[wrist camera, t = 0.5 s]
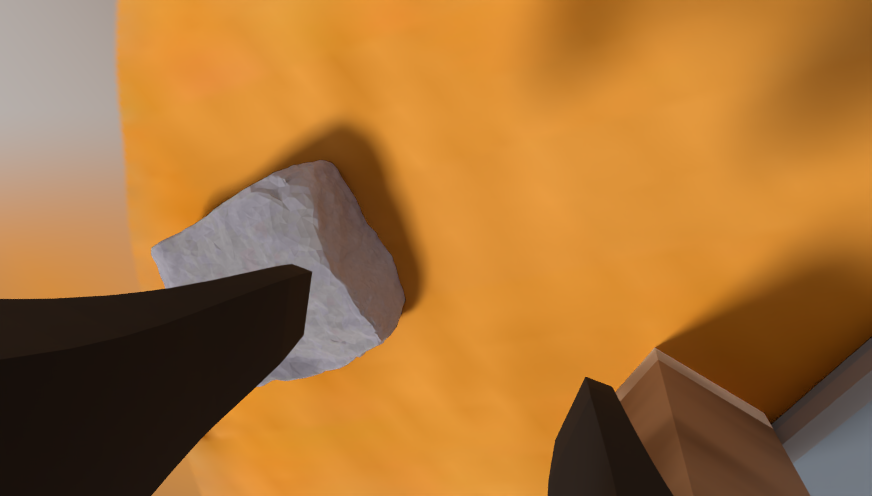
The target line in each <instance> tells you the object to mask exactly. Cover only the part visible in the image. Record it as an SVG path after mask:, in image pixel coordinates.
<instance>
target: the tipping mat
mask: <svg viewBox="0 0 872 496" xmlns="http://www.w3.org/2000/svg"><path fill="white" fill-rule="evenodd" d="M771 426H772V428H773V430H774V431H775V433H776V435H777V437H778V438H779V440H780V442H781V444H782V446H783V447H784V449H785V451H786V453H787V455H788V456H789V458H790V460H791V462H792V463H793V465H794V467H795V469H796V471H797V472H798V474H799V476H800V478H801V480H802V481H803V483H804V485H805V487H806V488H807V490H808V492H809V494H810V496H872V337H871V338H870V339H869V340H868V341H867V342H865V343H864V344H863V345H862V346H861V347H860V348H859V349H857V350H856V351H855V352H854V353H853V354H852V355H851V356H849V357H848V358H847V359H846V360H845V361H844V362H843V363H841V364H840V365H839V366H838V367H837V368H836V369H835V370H833V371H832V372H831V373H830V374H829V375H828V376H826V377H825V378H824V379H823V380H822V381H821V382H820V383H818V384H817V385H816V386H815V387H814V388H813V389H812V390H810V391H809V392H808V393H807V394H806V395H805V396H804V397H802V398H801V399H800V400H799V401H798V402H797V403H796V404H794V405H793V406H792V407H791V408H790V409H789V410H788V411H786V412H785V413H784V414H783V415H782V416H781V417H780V418H778V419H777V420H776V421H775V422H774V423H773V424H771Z"/></svg>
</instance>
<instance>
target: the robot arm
mask: <svg viewBox="0 0 872 496" xmlns="http://www.w3.org/2000/svg"><path fill="white" fill-rule="evenodd" d="M311 278H312V271H310V270H307V269H304V268H302V267H299V266H297V265H294V264H287V265H280V266H275V267H270V268H265V269H260V270H256V271H251V272H247V273H242V274H238V275H233V276H229V277H224V278H220V279H215V280H210V281H205V282H199V283H194V284H188V285H183V286H178V287H172V288H166V289H160V290H153V291H145V292H137V293H128V294H119V295H109V296H93V297H76V298H58V299H0V496H151V495H152V494H153V493H154V492H155V491H156V489H157V488H158V487H159V486H160V485H161V484H162V482H163V481H164V480H165V479H166V478H167V476H168V475H169V474H170V473H171V472H172V471H173V469H174V468H175V467H176V466H177V465H178V464H179V463H180V462H181V461H182V459H183V458H184V457H185V456H186V455H187V454H188V453H189V452H190V450H191V449H192V448H193V447H194V446H195V445H196V444H197V443H198V441H199V440H200V439H201V438H202V437H203V436H204V435H205V434H206V433H207V432H208V431H209V430H210V429H211V428H212V427H213V426H214V425H215V424H216V423H217V422H219V421H220V420H221V419H222V418H223V417H224V416H225V415H226V414H227V413H228V412H229V411H230V410H232V409H233V408H234V407H235V406H236V405H237V404H238V403H239V402H240V401H241V400H242V399H243V398H245V397H246V396H247V395H248V394H249V393H250V392H251V391H252V390H253V389H254V388H255V387H256V386H258V385H259V384H260V383H261V382H262V381H263V380H264V379H265V378H266V377H267V376H268V375H269V374H270V373H271V372H272V371H273V370H274V369H276V368H277V367H278V366H279V365H280V364H281V362H282V361H283V360H284V359H285V358H286V357H287V355H288V354H289V353H290V352H291V351H292V349H293V348H294V347H295V346H296V344H297V343H298V342H299V341H300V339H301V338H302V337H303V335H304V330H305V323H306V315H307V308H308V300H309V293H310V285H311ZM548 496H674V495H673V494H672V492H671V491H670V489H669V488H668V486H667V484H666V483H665V481H664V480H663V478H662V476H661V475H660V473H659V471H658V470H657V468H656V466H655V465H654V463H653V461H652V460H651V458H650V456H649V454H648V453H647V451H646V449H645V447H644V446H643V444H642V442H641V440H640V438H639V436H638V435H637V433H636V431H635V429H634V427H633V425H632V423H631V422H630V420H629V418H628V416H627V414H626V412H625V410H624V408H623V406H622V404H621V402H620V400H619V399H618V397H617V395H616V393H615V391H614V389H613V388H612V387H611V386H608V385H606V384H603V383H601V382H598V381H595V380H593V379H590V378H588V377H585V379H584V381H583V383H582V385H581V387H580V389H579V392H578V394H577V396H576V398H575V400H574V402H573V404H572V406H571V408H570V410H569V413H568V415H567V417H566V419H565V421H564V423H563V425H562V427H561V429H560V431H559V433H558V436H557V438H556V440H555V445H554V451H553V457H552V462H551V469H550V475H549V483H548Z"/></svg>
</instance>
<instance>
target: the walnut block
mask: <svg viewBox="0 0 872 496" xmlns="http://www.w3.org/2000/svg"><path fill="white" fill-rule="evenodd" d="M615 393H616V395H617V397H618V399H619V400H620V402H621V404H622V406H623V408H624V410H625V412H626V414H627V416H628V418H629V420H630V422H631V423H632V425H633V427H634V429H635V431H636V433H637V435H638V436H639V438H640V440H641V442H642V444H643V446H644V447H645V449H646V451H647V453H648V454H649V456H650V458H651V460H652V461H653V463H654V465H655V466H656V468H657V470H658V471H659V473H660V475H661V476H662V478H663V480H664V481H665V483H666V484H667V486H668V488H669V489H670V491H671V492H672V494H673V495H674V496H810V494H809V492H808V490H807V488H806V487H805V485H804V483H803V481H802V480H801V478H800V476H799V474H798V472H797V471H796V469H795V467H794V465H793V463H792V462H791V460H790V458H789V456H788V455H787V453H786V451H785V449H784V447H783V446H782V444H781V442H780V440H779V438H778V437H777V435H776V433H775V431H774V430H773V428H772V426H771V424H770V422H769V421H768V419H767V417H766V415H765V413H763V412H762V411H760V410H758V409H757V408H755V407H753V406H752V405H750V404H748V403H747V402H745V401H743V400H742V399H740V398H738V397H737V396H735V395H733V394H732V393H730V392H728V391H727V390H725V389H723V388H722V387H720V386H718V385H717V384H715V383H713V382H712V381H710V380H708V379H707V378H705V377H703V376H702V375H700V374H698V373H697V372H695V371H693V370H692V369H690V368H688V367H687V366H685V365H683V364H682V363H680V362H678V361H677V360H675V359H673V358H672V357H670V356H668V355H667V354H665V353H663V352H662V351H660V350H658V349H657V348H654V349H653V350H652V351H651V352H650V353H649V355H648V356H647V357H646V358H645V359H644V360H643V361H642V363H641V364H640V365H639V366H638V367H637V368H636V369H635V370H634V372H633V373H632V374H631V375H630V376H629V377H628V378H627V380H626V381H625V382H624V383H623V384H622V385H621V386H620V387H619V389H618V390H617V391H616V392H615Z"/></svg>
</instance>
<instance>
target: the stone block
mask: <svg viewBox="0 0 872 496" xmlns="http://www.w3.org/2000/svg"><path fill="white" fill-rule="evenodd" d="M151 256H152V257H153V259H154V261H155V262H156V264H157V267H158V270H159V274H160V276H161V279H162V280H163V282H164V285H165V288H172V287H178V286H183V285H188V284H194V283H199V282H205V281H210V280H215V279H220V278H224V277H229V276H233V275H238V274H242V273H247V272H251V271H256V270H260V269H265V268H270V267H275V266H280V265H287V264H294V265H297V266H299V267H302V268H304V269H307V270H310V271H312V278H311V285H310V293H309V300H308V308H307V315H306V323H305V330H304V335H303V337H302V338H301V339H300V341H299V342H298V343H297V344H296V346H295V347H294V348H293V349H292V351H291V352H290V353H289V354H288V355H287V357H286V358H285V359H284V360H283V361H282V362H281V364H280V365H279V366H278V367H277V368H276V369H274V370H273V371H272V372H271V373H270V374H269V375H268V376H267V377H266V378H265V379H264V380H263V381H262V382H261V383H260V384H259V385H258V386H256V387H259V386H264V385H265V384H267V383H269V382H271V381H272V380H282V381H289V380H295V379H300V378H307V377H310V376H314V375H317V374H320V373H323V372H324V371H328V370H334V369H339V368H341V367H344V366H346V365H347V364H349V363H350V362H351V361H353V360H354V359H355V358H356V357H361V356H363V354H364V353H365V352H366V351H368V350H370V349H372V348H374V347H376V346H378V345H380V344H382V343H383V342H384V340H386V338H388V337H389V336H390V335H391V334H392V332H393V331H394V330H395V328H396V327H397V324H398V322H399V318H400V315H401V314H402V308H403V305H404V302H405V296H404V291H403V288H402V286H401V284H400V281H399V278H398V274H397V269H396V265H395V264H394V261H393V257H392V255H391V254H390V253H389V252H388V251H387V249H386V248H385V246H384V245H383V244H382V242H381V241H380V239H379V238H378V236H377V233H376V232H375V231H374V230H373V229H372V228H371V227H370V226H369V225H368V224H367V222H366V220H365V218H364V216H363V215H362V212H361V209H360V206H359V205H358V203H357V200H356V198H355V196H354V195H353V193H352V192H351V190H350V189H349V187H348V186H347V184H346V183H345V181H344V180H343V178H342V177H341V175H340V173H339V171H338V169H337V168H336V167H335V166H334V164H333V163H331V162H328V161H325V160H318V161H315V162H307V163H302V164H299V165H292V166H290V167H288V168H286V169H283V170H281V171H277V172H274V173H272V174H271V175H269V176H268V177H266V178H264V179H262V180H260V181H258V182H256V183H254V184H253V185H251V186H249V187H247V188H245V189H244V190H242V191H240V192H239V193H238V194H236V195H235V196H233V197H232V198H230V199H229V200H227V201H225V202H224V203H222V204H221V205H219V206H218V207H217V208H215V209H214V210H213V211H212V212H211V213H210V214H208V215H207V216H206V217H205V218H203V219H202V220H200V221H198V222H197V223H195V224H194V225H192V226H190V227H188V228H186V229H185V230H183V231H182V232H180V233H178V234H175V235H173V236H171V237H169V238H167V239H165V240H163V241H161V242H159V243H158V244H156V245H155V246H153V247H152V248H151Z"/></svg>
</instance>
